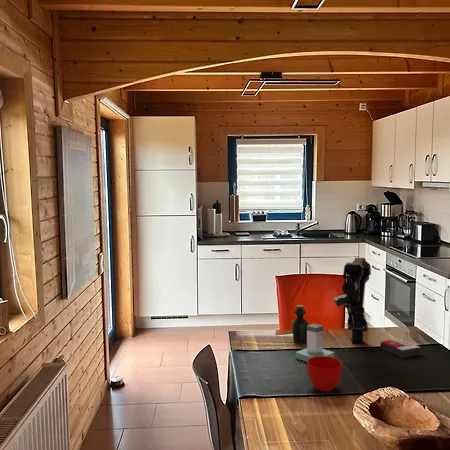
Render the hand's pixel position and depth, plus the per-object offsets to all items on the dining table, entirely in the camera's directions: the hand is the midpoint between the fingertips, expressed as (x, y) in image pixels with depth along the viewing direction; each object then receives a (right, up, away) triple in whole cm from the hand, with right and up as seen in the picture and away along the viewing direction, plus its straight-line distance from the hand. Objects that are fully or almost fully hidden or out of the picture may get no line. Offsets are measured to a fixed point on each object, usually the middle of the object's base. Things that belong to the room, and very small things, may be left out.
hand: (352, 323), depth 218 cm
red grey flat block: (+22, -13, -1) cm, 26 cm away
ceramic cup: (-21, -17, -37) cm, 45 cm away
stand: (-19, -14, -9) cm, 25 cm away
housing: (-19, -11, -9) cm, 24 cm away
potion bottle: (-22, -12, +14) cm, 29 cm away
